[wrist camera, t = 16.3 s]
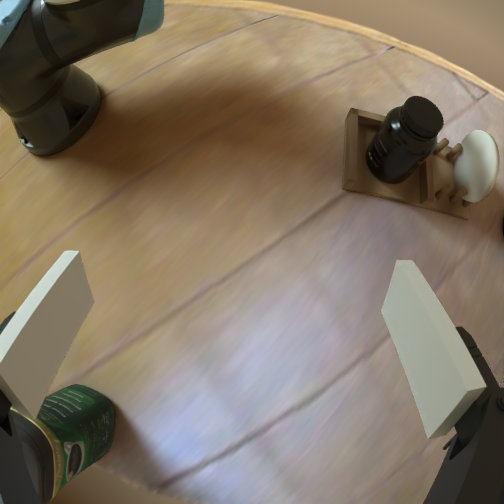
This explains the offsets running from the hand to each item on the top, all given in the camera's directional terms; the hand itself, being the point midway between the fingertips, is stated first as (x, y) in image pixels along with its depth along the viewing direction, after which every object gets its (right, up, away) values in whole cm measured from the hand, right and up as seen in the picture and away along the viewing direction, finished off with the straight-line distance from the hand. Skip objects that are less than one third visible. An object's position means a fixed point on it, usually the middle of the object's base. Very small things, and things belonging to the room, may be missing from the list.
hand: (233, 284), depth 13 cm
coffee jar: (-20, -20, +20) cm, 35 cm away
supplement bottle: (+19, +13, +27) cm, 35 cm away
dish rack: (+23, +13, +28) cm, 38 cm away
